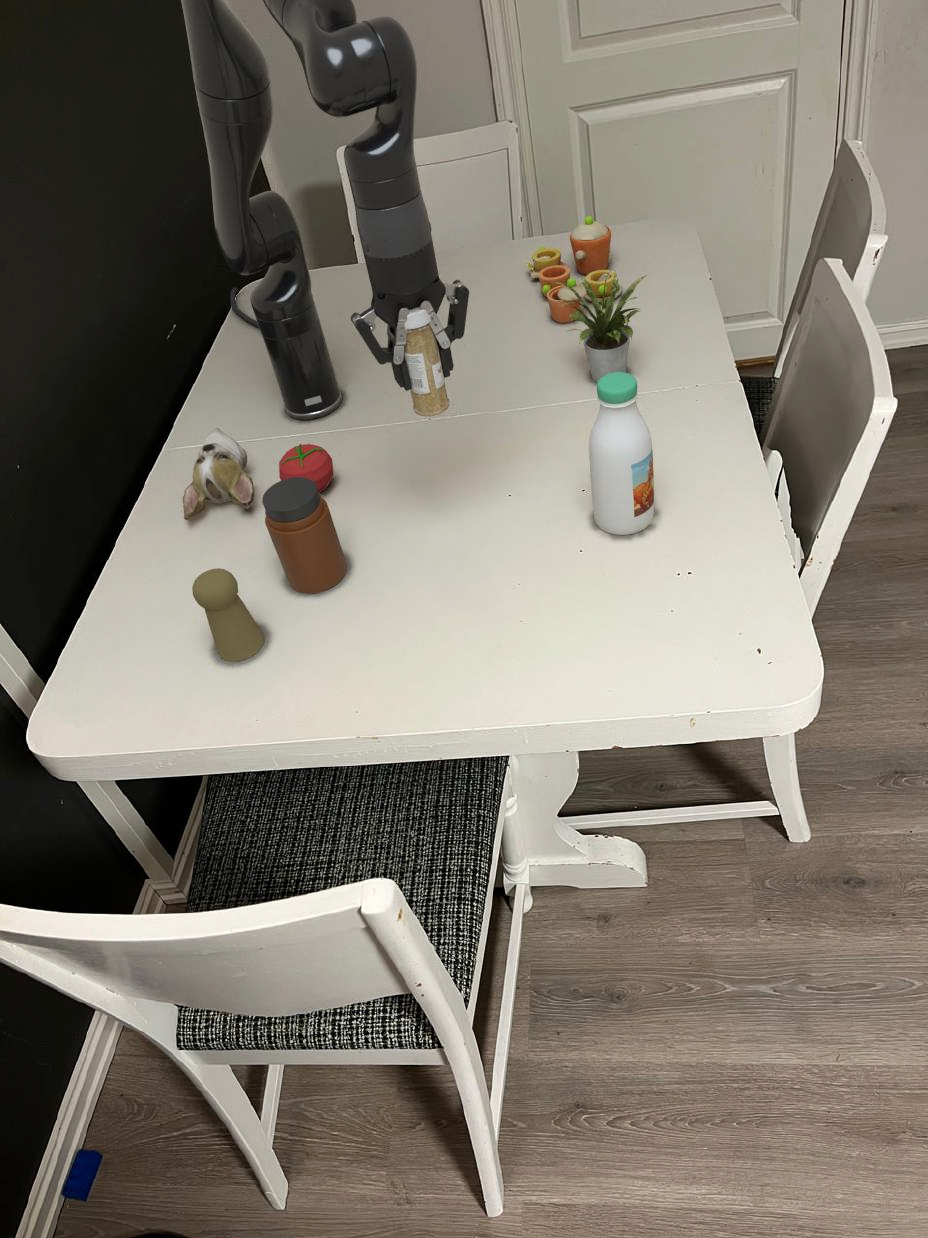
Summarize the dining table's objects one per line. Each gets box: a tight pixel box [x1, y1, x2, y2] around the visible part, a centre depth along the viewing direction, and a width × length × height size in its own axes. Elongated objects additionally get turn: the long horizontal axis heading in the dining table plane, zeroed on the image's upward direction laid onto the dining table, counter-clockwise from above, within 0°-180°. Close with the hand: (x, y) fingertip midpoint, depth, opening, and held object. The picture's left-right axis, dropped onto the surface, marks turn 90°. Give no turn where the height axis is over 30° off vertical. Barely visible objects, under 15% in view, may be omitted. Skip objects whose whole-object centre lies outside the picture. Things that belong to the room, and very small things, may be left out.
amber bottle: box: [261, 477, 348, 595], centre depth 120 cm, size 8×8×13 cm
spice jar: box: [402, 307, 450, 418], centre depth 110 cm, size 5×5×13 cm
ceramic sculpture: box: [182, 427, 255, 521], centre depth 138 cm, size 11×9×15 cm
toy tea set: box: [526, 215, 622, 324], centre depth 166 cm, size 26×16×10 cm, turn 5°
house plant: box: [553, 272, 648, 384], centre depth 142 cm, size 14×14×16 cm
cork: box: [191, 567, 266, 663], centre depth 113 cm, size 6×6×11 cm
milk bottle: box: [588, 372, 655, 536], centre depth 115 cm, size 8×8×20 cm
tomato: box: [278, 443, 335, 494], centre depth 136 cm, size 8×8×8 cm
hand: (425, 380), depth 112 cm, fingers closed on spice jar, 4 cm apart
